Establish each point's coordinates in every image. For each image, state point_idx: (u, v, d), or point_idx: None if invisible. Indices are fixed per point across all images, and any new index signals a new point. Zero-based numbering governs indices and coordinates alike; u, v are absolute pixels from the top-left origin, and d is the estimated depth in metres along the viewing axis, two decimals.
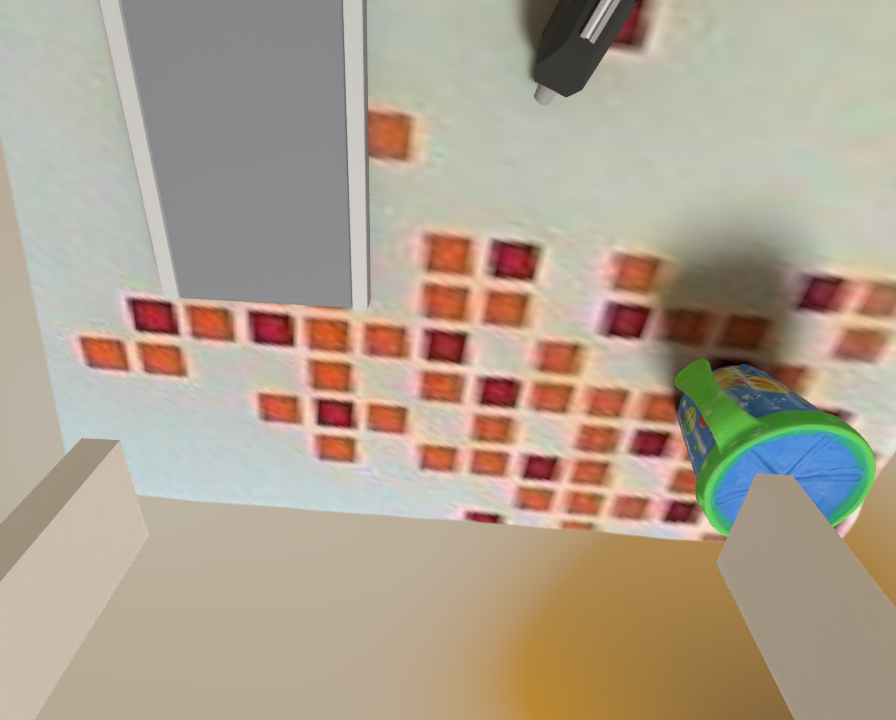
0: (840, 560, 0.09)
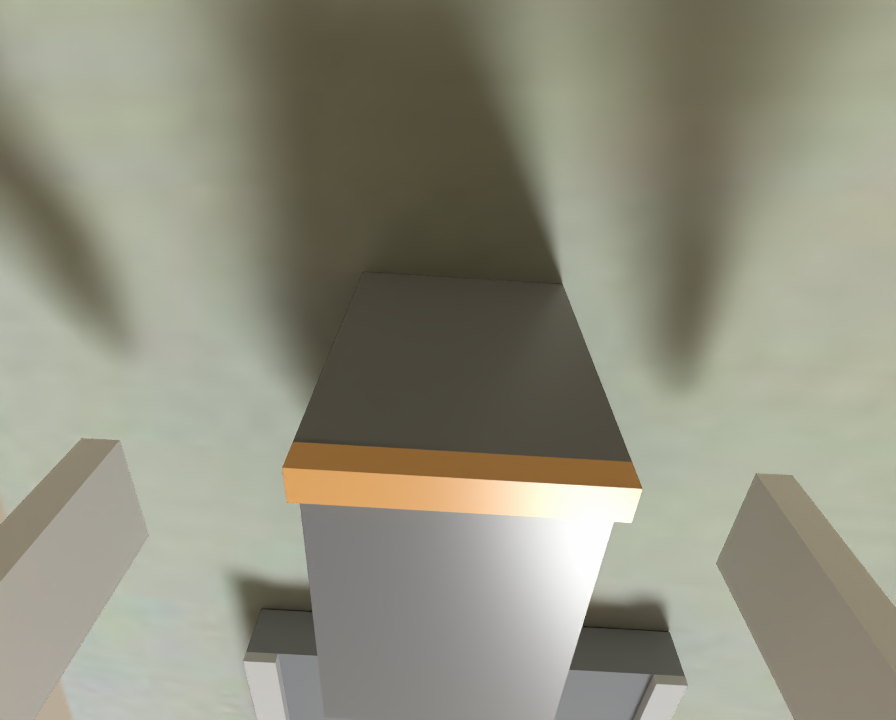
0: (840, 560, 0.09)
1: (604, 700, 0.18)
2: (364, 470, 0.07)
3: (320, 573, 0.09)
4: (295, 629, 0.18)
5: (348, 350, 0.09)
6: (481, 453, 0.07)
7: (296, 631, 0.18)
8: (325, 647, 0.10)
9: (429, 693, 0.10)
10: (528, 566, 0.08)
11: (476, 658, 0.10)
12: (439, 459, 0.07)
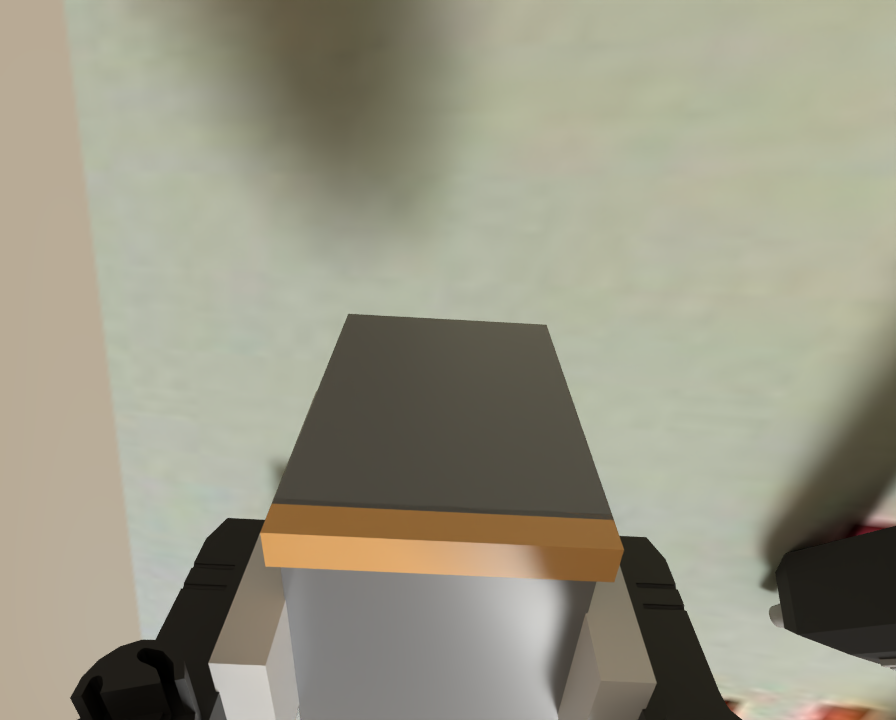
0: None
1: None
2: (344, 533, 0.07)
3: (300, 631, 0.08)
4: None
5: (331, 401, 0.09)
6: (462, 512, 0.07)
7: None
8: (307, 705, 0.09)
9: None
10: (512, 622, 0.08)
11: (463, 713, 0.10)
12: (420, 520, 0.07)
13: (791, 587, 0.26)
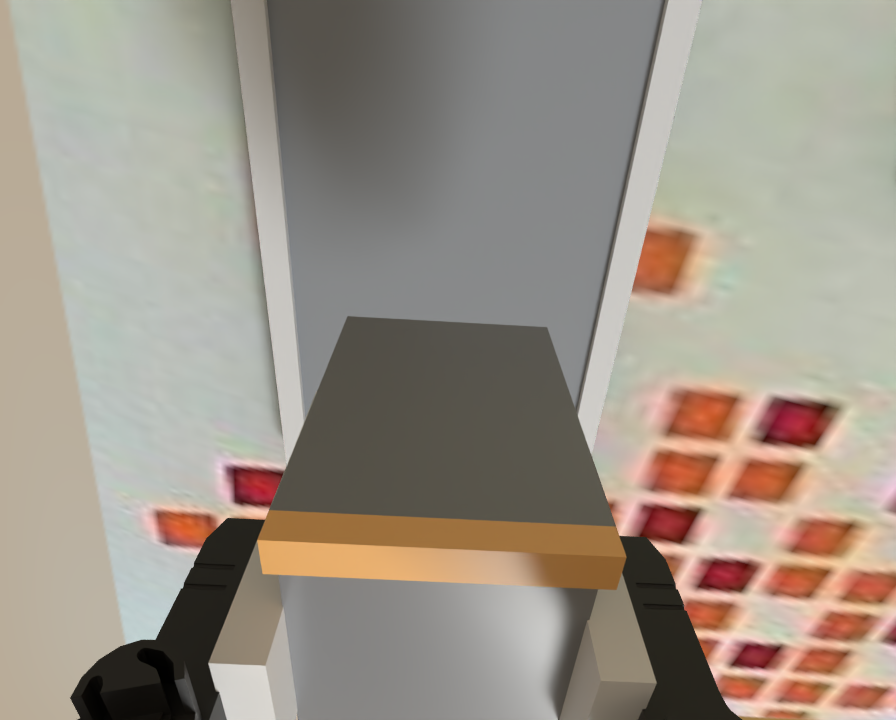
0: None
1: (614, 56, 0.17)
2: (342, 541, 0.07)
3: (299, 639, 0.08)
4: None
5: (329, 405, 0.09)
6: (463, 519, 0.07)
7: None
8: (306, 712, 0.09)
9: None
10: (513, 630, 0.08)
11: None
12: (419, 527, 0.07)
13: None
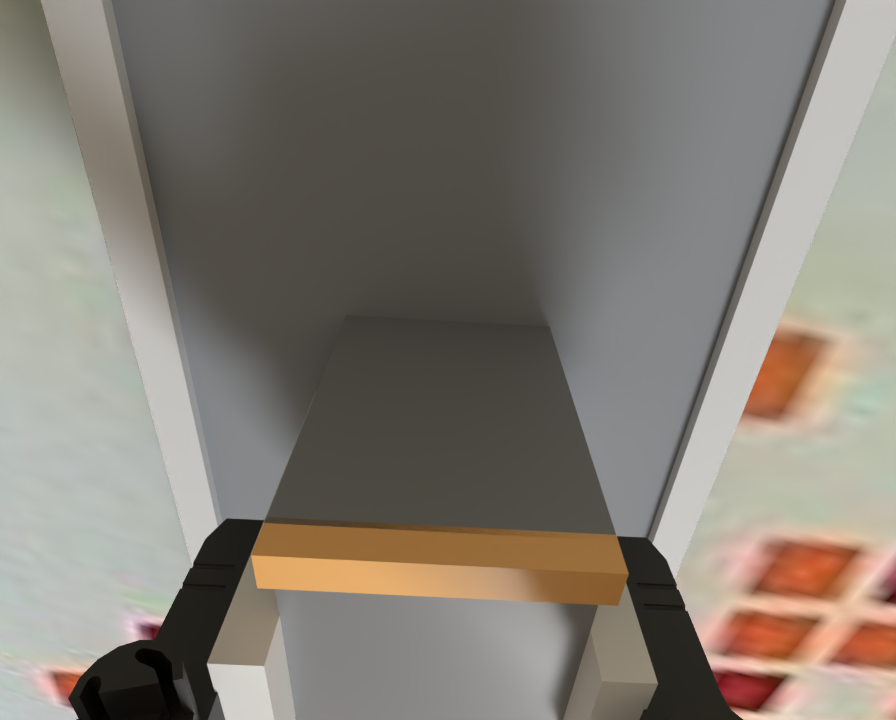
0: None
1: (741, 66, 0.10)
2: (338, 556, 0.07)
3: (295, 648, 0.08)
4: None
5: (327, 410, 0.09)
6: (461, 532, 0.07)
7: None
8: (304, 718, 0.09)
9: None
10: (512, 640, 0.08)
11: None
12: (417, 541, 0.07)
13: None
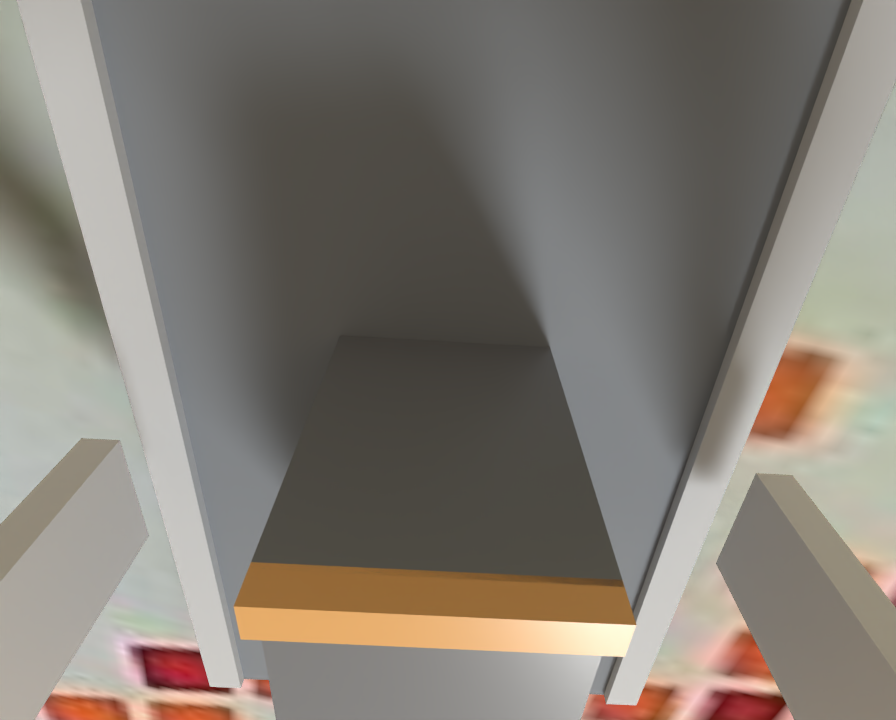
0: (840, 560, 0.09)
1: (749, 81, 0.09)
2: (326, 606, 0.06)
3: (284, 694, 0.08)
4: None
5: (318, 440, 0.09)
6: (458, 576, 0.07)
7: None
8: None
9: None
10: (513, 687, 0.08)
11: None
12: (411, 589, 0.06)
13: None
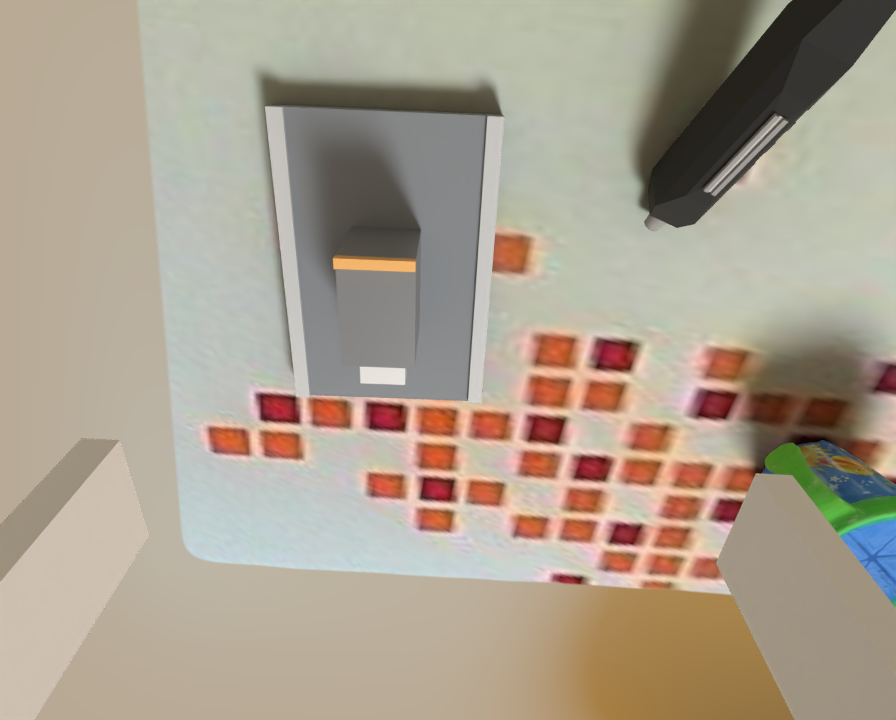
0: (840, 560, 0.09)
1: (465, 145, 0.33)
2: (351, 259, 0.30)
3: (340, 300, 0.32)
4: (292, 106, 0.33)
5: (347, 242, 0.33)
6: (380, 258, 0.31)
7: (293, 106, 0.33)
8: (341, 331, 0.33)
9: (374, 351, 0.33)
10: (396, 295, 0.31)
11: (387, 333, 0.33)
12: (369, 257, 0.30)
13: (654, 184, 0.34)
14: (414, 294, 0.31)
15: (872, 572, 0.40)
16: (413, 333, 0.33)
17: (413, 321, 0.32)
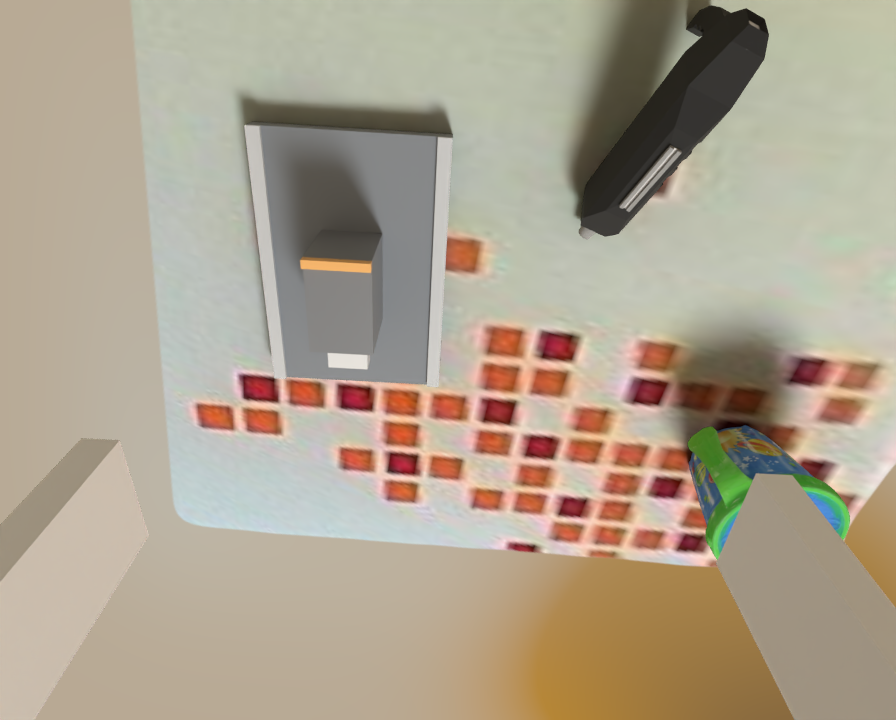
0: (840, 560, 0.09)
1: (419, 161, 0.38)
2: (316, 261, 0.35)
3: (307, 295, 0.37)
4: (269, 124, 0.38)
5: (315, 245, 0.38)
6: (341, 260, 0.36)
7: (269, 124, 0.38)
8: (309, 322, 0.38)
9: (337, 339, 0.38)
10: (355, 291, 0.37)
11: (348, 325, 0.38)
12: (331, 260, 0.35)
13: (585, 198, 0.39)
14: (371, 291, 0.37)
15: None
16: (371, 325, 0.38)
17: (371, 314, 0.37)
